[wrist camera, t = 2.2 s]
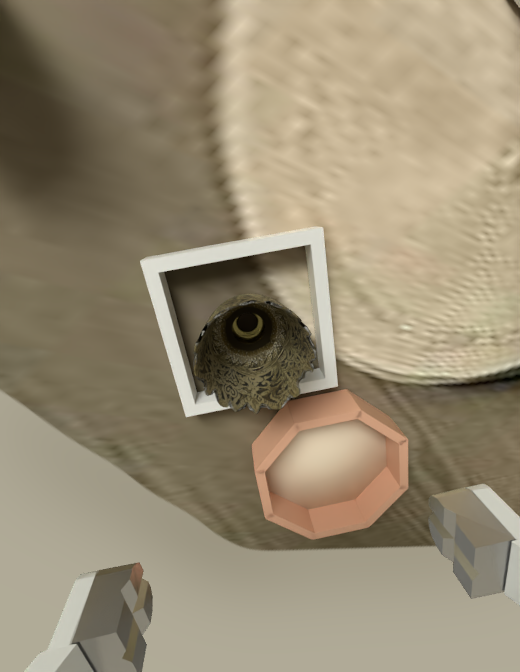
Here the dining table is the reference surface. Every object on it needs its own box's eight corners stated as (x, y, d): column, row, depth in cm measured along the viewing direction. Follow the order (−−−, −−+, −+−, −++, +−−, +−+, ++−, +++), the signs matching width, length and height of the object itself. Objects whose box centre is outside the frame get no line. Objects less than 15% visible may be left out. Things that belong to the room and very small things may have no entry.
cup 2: (261, 376, 29) (273, 432, 22) (185, 338, 27) (171, 384, 20) (308, 305, 27) (340, 340, 20) (231, 259, 25) (234, 278, 18)
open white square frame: (315, 226, 25) (323, 227, 23) (330, 375, 30) (337, 386, 28) (146, 257, 25) (140, 260, 23) (188, 404, 29) (186, 417, 28)
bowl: (388, 380, 31) (407, 400, 27) (391, 490, 36) (408, 518, 32) (243, 409, 30) (246, 433, 27) (267, 517, 35) (271, 548, 32)
